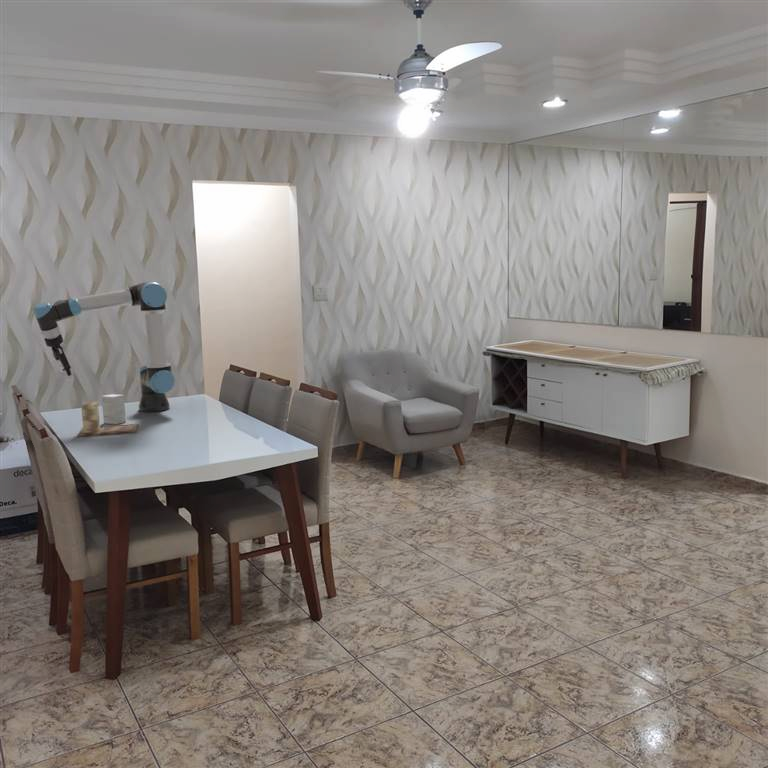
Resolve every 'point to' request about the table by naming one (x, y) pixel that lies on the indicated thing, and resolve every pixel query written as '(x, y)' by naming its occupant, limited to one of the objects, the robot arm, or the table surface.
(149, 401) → the robot arm
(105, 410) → the small box
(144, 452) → the table surface
